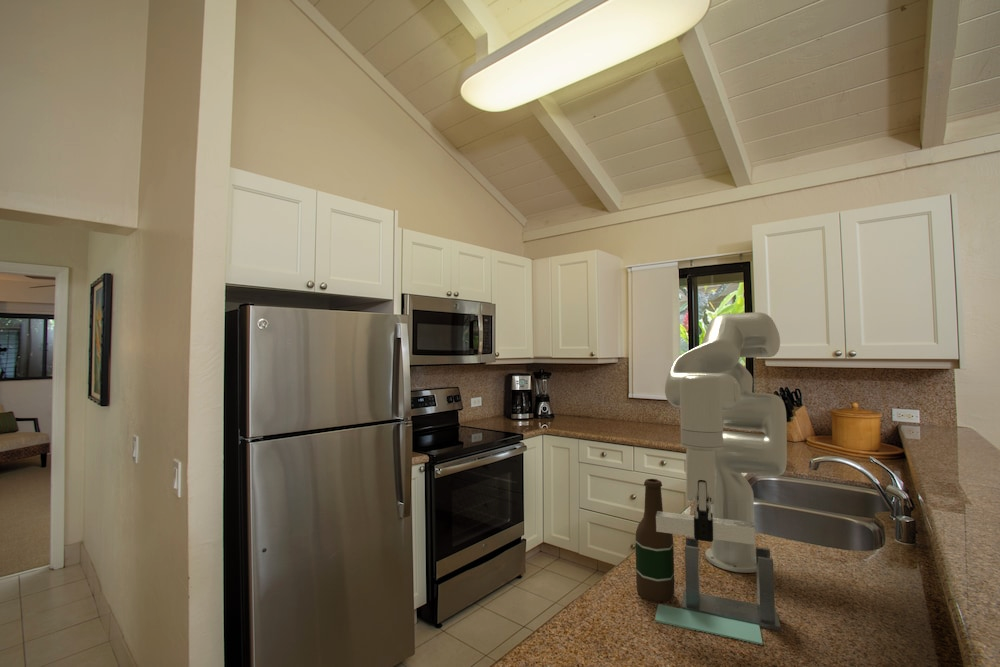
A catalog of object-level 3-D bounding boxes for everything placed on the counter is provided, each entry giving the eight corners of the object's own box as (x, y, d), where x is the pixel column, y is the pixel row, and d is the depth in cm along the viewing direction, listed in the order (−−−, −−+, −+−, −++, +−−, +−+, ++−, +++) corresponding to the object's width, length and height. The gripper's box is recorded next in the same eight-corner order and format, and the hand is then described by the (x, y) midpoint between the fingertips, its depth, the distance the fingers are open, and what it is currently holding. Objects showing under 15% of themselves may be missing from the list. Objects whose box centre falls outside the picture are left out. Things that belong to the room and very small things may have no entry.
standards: (683, 593, 98) (682, 534, 98) (775, 611, 91) (773, 548, 91) (681, 610, 92) (680, 547, 92) (780, 631, 85) (778, 562, 85)
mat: (658, 605, 93) (658, 603, 93) (759, 626, 86) (759, 624, 86) (655, 621, 88) (655, 619, 88) (762, 645, 81) (762, 643, 81)
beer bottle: (677, 605, 93) (675, 486, 94) (638, 601, 95) (635, 484, 96) (671, 586, 101) (669, 476, 102) (635, 583, 103) (632, 474, 104)
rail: (657, 526, 92) (657, 511, 92) (754, 538, 85) (753, 522, 85) (656, 531, 89) (655, 515, 90) (755, 544, 82) (754, 527, 83)
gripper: (682, 431, 97) (684, 520, 96) (678, 444, 82) (680, 549, 81) (722, 434, 94) (724, 525, 93) (724, 448, 79) (727, 557, 78)
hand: (703, 535), depth 87 cm, fingers closed on rail, 3 cm apart
